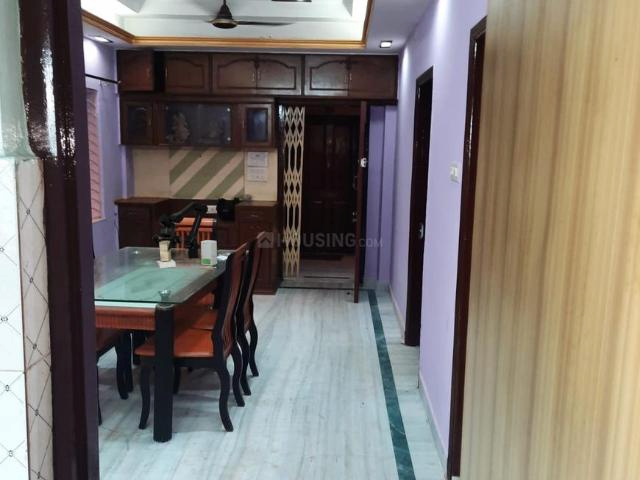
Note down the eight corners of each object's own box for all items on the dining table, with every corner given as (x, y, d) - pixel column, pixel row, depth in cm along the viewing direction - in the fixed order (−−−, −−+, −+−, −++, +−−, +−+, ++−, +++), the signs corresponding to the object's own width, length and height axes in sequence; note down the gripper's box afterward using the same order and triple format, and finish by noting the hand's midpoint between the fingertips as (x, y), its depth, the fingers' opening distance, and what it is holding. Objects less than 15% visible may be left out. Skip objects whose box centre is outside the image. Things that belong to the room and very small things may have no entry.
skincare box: (201, 264, 360) (200, 241, 358) (208, 262, 366) (206, 239, 363) (211, 265, 356) (210, 242, 354) (218, 263, 362) (216, 240, 360)
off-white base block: (172, 263, 367) (172, 259, 366) (175, 266, 358) (175, 261, 357) (157, 265, 362) (156, 261, 362) (159, 268, 354) (159, 263, 353)
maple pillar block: (164, 259, 362) (162, 241, 360) (171, 259, 362) (169, 241, 360) (160, 260, 357) (159, 242, 355) (168, 260, 357) (166, 242, 355)
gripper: (152, 223, 361) (146, 243, 352) (179, 223, 358) (173, 243, 349) (158, 233, 370) (152, 253, 361) (184, 233, 367) (179, 252, 358)
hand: (164, 250), depth 357 cm, fingers closed on maple pillar block, 5 cm apart
